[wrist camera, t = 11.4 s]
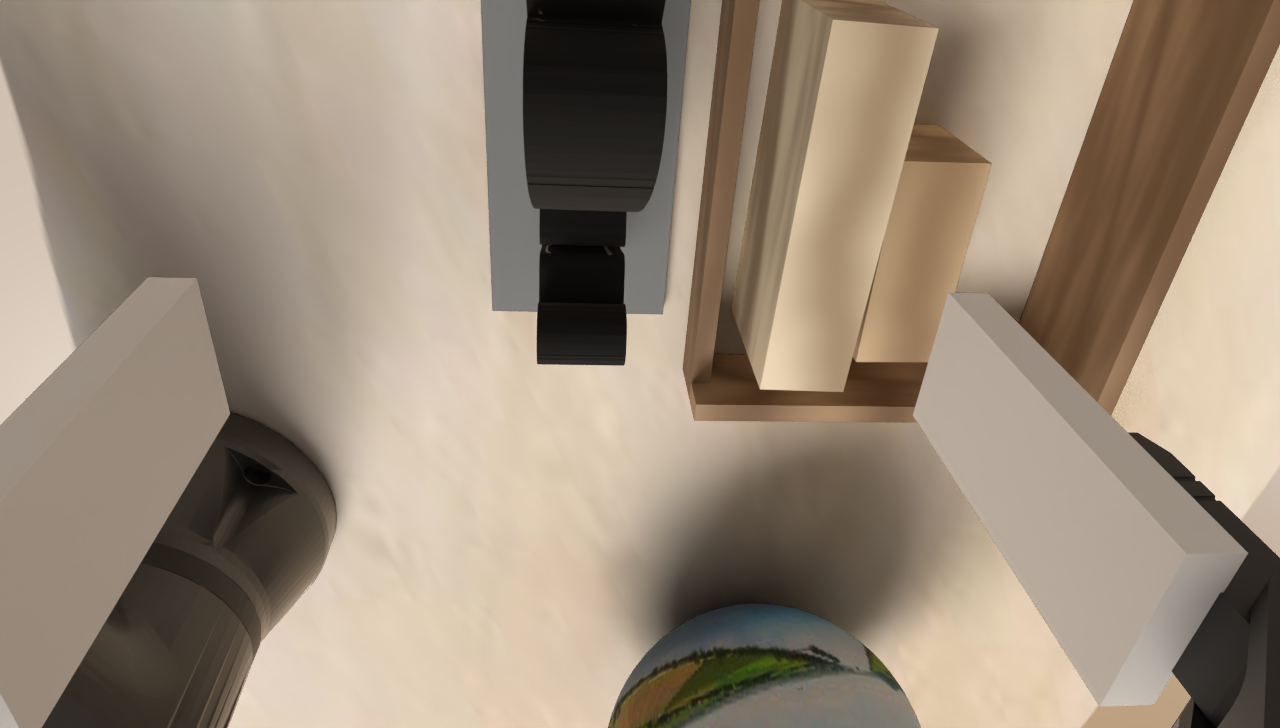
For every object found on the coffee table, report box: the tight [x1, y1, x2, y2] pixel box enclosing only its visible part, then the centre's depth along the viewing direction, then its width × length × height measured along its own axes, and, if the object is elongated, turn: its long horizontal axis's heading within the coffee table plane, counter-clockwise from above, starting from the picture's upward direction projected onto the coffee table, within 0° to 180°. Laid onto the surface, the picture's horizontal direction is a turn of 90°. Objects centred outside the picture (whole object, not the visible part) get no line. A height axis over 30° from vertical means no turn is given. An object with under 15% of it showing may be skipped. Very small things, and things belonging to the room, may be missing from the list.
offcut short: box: [853, 124, 992, 362], centre depth 39 cm, size 4×10×6 cm, turn 177°
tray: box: [683, 0, 1280, 422], centre depth 36 cm, size 20×27×8 cm
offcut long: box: [731, 0, 939, 392], centre depth 37 cm, size 4×16×8 cm, turn 175°
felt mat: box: [481, 0, 691, 314], centre depth 36 cm, size 9×26×1 cm, turn 176°
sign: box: [523, 0, 668, 365], centre depth 27 cm, size 22×3×20 cm, turn 177°
